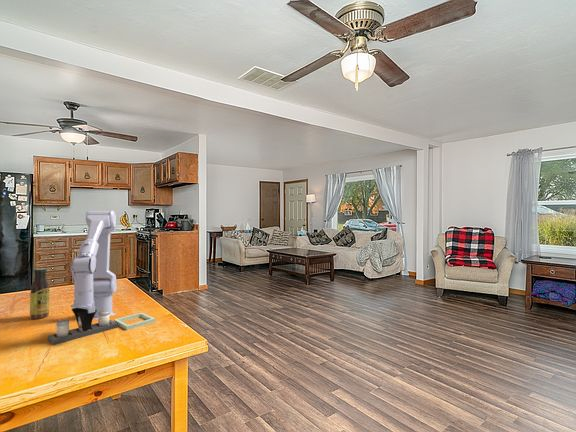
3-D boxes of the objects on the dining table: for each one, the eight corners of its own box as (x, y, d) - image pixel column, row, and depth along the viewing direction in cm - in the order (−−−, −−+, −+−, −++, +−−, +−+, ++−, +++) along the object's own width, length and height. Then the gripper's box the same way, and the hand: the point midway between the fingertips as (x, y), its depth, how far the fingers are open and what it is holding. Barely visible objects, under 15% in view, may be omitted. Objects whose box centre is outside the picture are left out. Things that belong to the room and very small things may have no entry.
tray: (113, 324, 124) (113, 319, 124) (141, 317, 133) (141, 312, 133) (126, 331, 117) (126, 326, 117) (155, 323, 126) (155, 318, 126)
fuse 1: (54, 338, 109) (54, 321, 109) (67, 335, 112) (67, 318, 112) (58, 341, 107) (58, 324, 107) (70, 338, 110) (70, 321, 109)
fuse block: (47, 340, 109) (47, 335, 109) (110, 324, 124) (110, 319, 124) (53, 346, 104) (53, 340, 104) (117, 329, 120) (117, 323, 120)
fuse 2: (96, 328, 119) (96, 312, 119) (107, 325, 122) (107, 309, 122) (100, 330, 117) (100, 314, 117) (111, 327, 120) (111, 311, 119)
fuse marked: (76, 333, 114) (76, 316, 114) (88, 330, 117) (87, 313, 117) (80, 335, 112) (80, 318, 112) (91, 332, 115) (91, 316, 114)
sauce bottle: (38, 320, 128) (37, 270, 128) (25, 319, 129) (25, 270, 129) (53, 314, 135) (53, 267, 134) (41, 313, 136) (40, 267, 135)
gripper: (64, 289, 115) (64, 326, 116) (78, 296, 106) (78, 337, 107) (85, 285, 121) (86, 321, 121) (101, 292, 112) (101, 331, 112)
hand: (84, 328), depth 114 cm, fingers closed on fuse marked, 4 cm apart
